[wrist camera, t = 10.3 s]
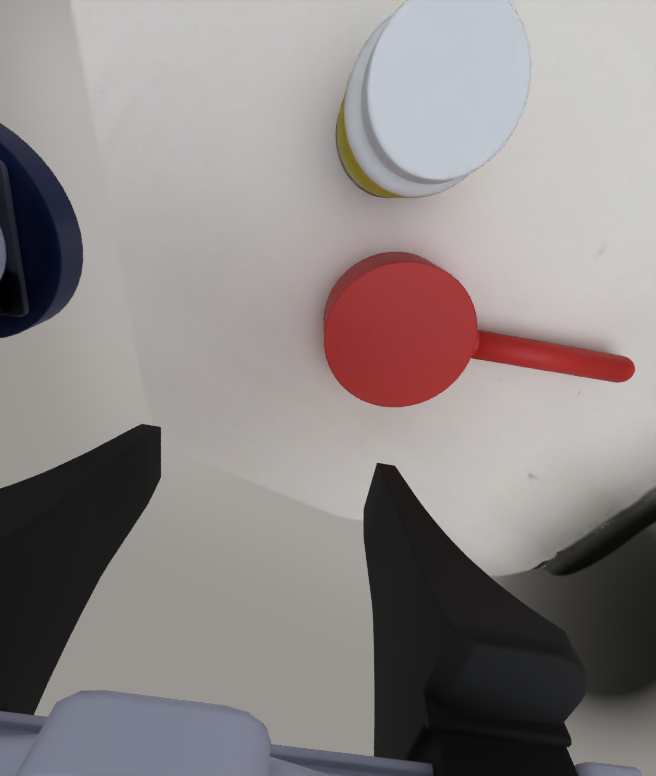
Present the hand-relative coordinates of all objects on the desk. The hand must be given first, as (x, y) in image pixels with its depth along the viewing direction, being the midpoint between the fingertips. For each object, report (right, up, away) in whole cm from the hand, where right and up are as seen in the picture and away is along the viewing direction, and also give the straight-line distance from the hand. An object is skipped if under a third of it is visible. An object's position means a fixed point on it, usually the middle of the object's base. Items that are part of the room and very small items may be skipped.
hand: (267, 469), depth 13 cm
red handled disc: (+10, +6, +8) cm, 14 cm away
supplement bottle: (+5, +14, +4) cm, 15 cm away
